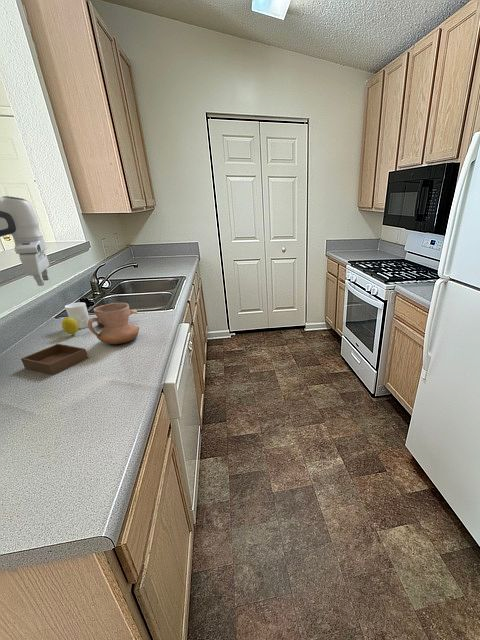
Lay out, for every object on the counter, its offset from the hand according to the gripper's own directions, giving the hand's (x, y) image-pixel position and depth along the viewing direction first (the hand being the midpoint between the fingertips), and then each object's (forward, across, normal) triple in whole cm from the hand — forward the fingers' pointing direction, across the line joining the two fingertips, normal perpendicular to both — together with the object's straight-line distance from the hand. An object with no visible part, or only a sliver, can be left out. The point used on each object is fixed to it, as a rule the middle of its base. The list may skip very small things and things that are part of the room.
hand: (43, 282), depth 128 cm
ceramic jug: (+23, +15, +22) cm, 35 cm away
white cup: (+23, -12, +6) cm, 26 cm away
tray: (+23, +27, +2) cm, 35 cm away
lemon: (+23, -1, +4) cm, 23 cm away
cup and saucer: (+23, -8, +19) cm, 31 cm away
